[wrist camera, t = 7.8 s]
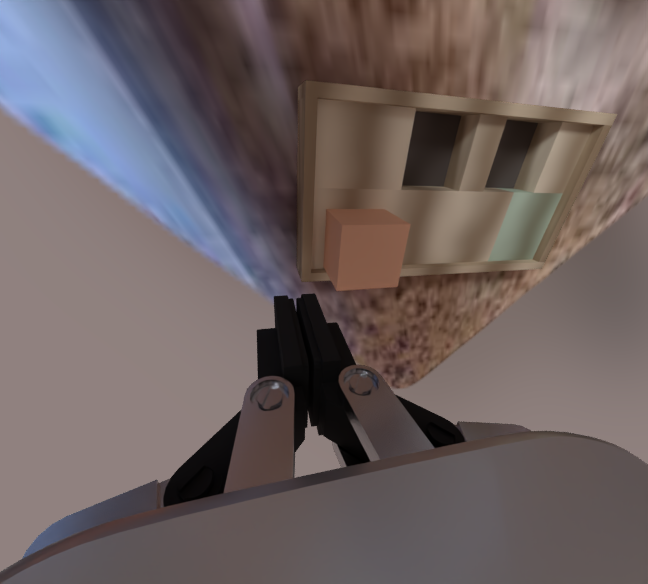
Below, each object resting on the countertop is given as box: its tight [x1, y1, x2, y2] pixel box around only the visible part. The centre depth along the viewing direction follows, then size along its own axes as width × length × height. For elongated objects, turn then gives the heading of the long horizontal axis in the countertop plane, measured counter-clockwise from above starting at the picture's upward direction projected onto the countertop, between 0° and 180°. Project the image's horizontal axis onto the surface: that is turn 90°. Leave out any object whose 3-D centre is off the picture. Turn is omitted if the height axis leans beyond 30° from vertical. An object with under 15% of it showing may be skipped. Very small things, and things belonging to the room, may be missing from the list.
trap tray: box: [297, 80, 617, 282], centre depth 25 cm, size 26×14×3 cm, turn 87°
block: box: [323, 209, 411, 291], centre depth 22 cm, size 5×5×4 cm
